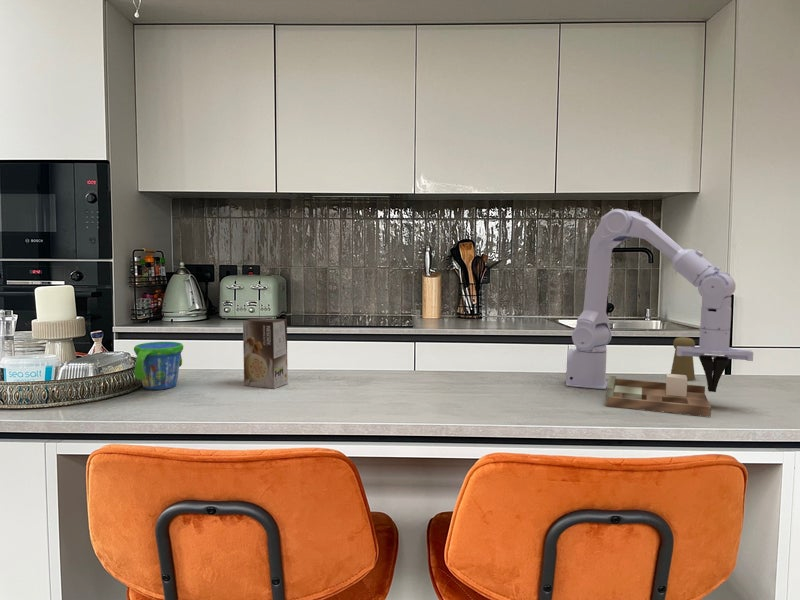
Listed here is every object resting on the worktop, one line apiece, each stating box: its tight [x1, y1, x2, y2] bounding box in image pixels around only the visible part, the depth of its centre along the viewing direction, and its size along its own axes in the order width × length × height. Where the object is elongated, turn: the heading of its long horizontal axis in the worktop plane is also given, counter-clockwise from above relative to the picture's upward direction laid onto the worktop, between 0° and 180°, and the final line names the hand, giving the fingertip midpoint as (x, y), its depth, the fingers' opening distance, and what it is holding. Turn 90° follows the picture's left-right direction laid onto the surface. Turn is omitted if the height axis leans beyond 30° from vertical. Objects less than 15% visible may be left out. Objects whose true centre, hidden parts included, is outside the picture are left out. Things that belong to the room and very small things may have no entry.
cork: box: [670, 336, 696, 382], centre depth 157 cm, size 6×6×11 cm
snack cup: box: [133, 341, 184, 391], centre depth 139 cm, size 16×10×10 cm
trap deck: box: [605, 375, 712, 417], centre depth 129 cm, size 20×14×4 cm
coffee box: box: [242, 317, 289, 389], centre depth 143 cm, size 9×6×16 cm
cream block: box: [665, 373, 688, 397], centre depth 130 cm, size 4×4×4 cm
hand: (711, 390), depth 128 cm, fingers closed
